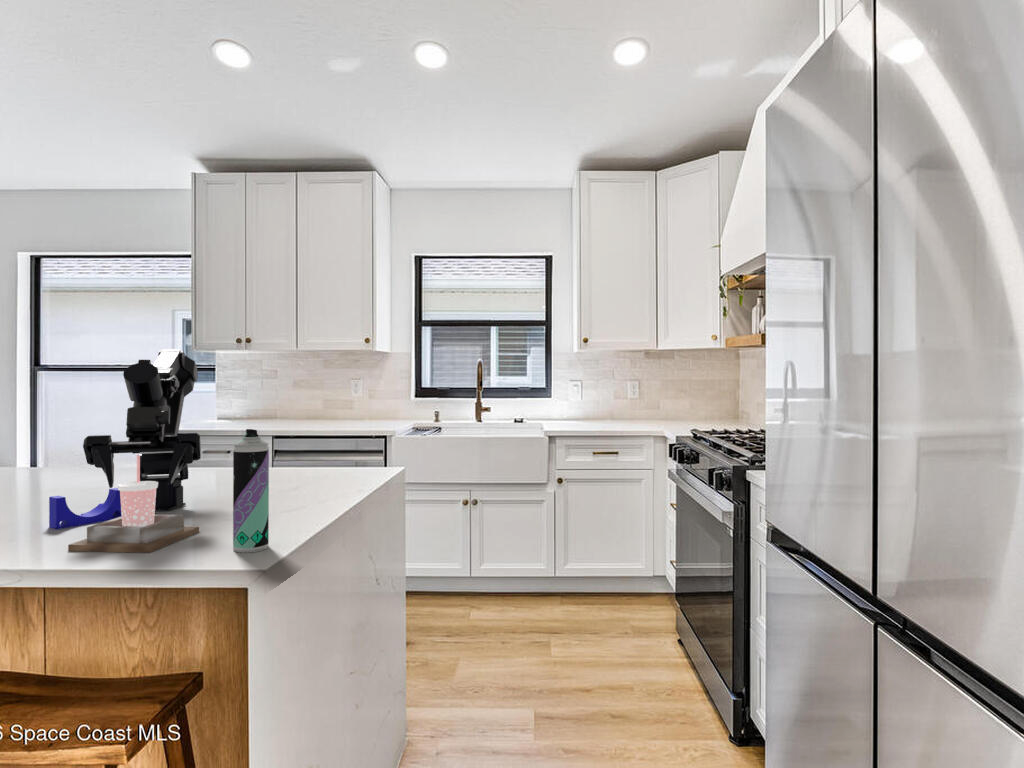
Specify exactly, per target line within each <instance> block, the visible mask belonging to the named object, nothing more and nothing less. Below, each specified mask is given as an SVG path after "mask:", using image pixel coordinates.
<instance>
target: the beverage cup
mask: <svg viewBox="0 0 1024 768" xmlns="http://www.w3.org/2000/svg"><path fill="white" fill-rule="evenodd" d="M157 487H158V482H156V481H140V454H137V455H136V481H127V482H124V483H123V482H122V483H118V484H117V488H118V490H119V491H120V500H121V514H122V526H138V527H145V526H148V525H150V524H153V523H154V516H155V513H156V512H155V511H156V510H155V501H156V488H157Z"/></svg>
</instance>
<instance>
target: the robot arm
mask: <svg viewBox="0 0 1024 768" xmlns="http://www.w3.org/2000/svg"><path fill="white" fill-rule="evenodd" d="M151 361H152V360H151V359H138V363H137V362H136V363H134V364H131V365H129V366H128V367H127V368H126V369H124V370H123V378H124V383H125V387H126V390H127V393H128V399H130V401H131V402H133V406H131V407H128V408H127V411H126V424H125V425H126V431H125V436H126V439H127V438H128V441H127V440H126V441H121V440H120V441H113V440H112V435H111V434H102V435H101V434H99V435H98V434H95V435H87V436H86V437H85V438H84V439H83V444H82V448H83V452H84V455H85V460H86V463H87V465H90V466H94V467H95V468H97V469H99V468H100V469H102V471H103V473H104V475H105V477H106V480H107V484H108V487H109V489H113V487H114V481H115V478H114V477H115V464H114V456H115V455H114V454H130V453H131V454H133V455H134V454H139V455H140V481H156V482H158V487H157V488H156V501H155V511H161V512H162V511H166V512H167V511H172V510H175V509H178V508H182V507H184V506H186V502H184V485H182V481H185V480H188V479H189V467H188V466H189V464H193V463H194V462H195V461H199V460H201V459H202V444H201V435H200V434H199V432H179V431H180V430H179V429H180V425H181V418H182V413H183V408H184V407H183V406H184V401H185V398H186V397H187V396H188V395H189V394H190V393H191V392H193V391H194V386H195V383H197V382H198V377H199V376H198V375H199V373H198V368H197V367H198V366H197V364H196V360H193V359H192V358H190V357H189V356H187V355H186V354H185V351H184V350H181V349H162V350H159V351H158V355H157V358H156V359H155V361H154V362H153V363H152V362H151Z"/></svg>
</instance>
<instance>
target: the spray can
mask: <svg viewBox="0 0 1024 768" xmlns="http://www.w3.org/2000/svg"><path fill="white" fill-rule="evenodd" d="M243 435H244V436H242V438H241V439H240V440H239V441H237V442H236V443H234V444H233V445H234V446H233V447H234V448H233V452H232V455H233V457H232V459H233V463H232V464H233V465H232V466H233V467H232V468H233V469H232V471H233V473H232V474H233V478H232V479H233V480H232V482H233V486H232V487H233V488H232V489H233V490H232V492H233V495H232V496H233V497H232V498H233V499H232V504H233V505H232V507H233V511H232V516H233V518H232V525H233V526H232V528H233V529H232V541H233V542H232V550H233V551H234V552H235V553H240V552H241V553H242V554H243V553H244V554H245V553H255V552H261V551H264V550H267V549H268V548H269V541H270V540H269V539H270V538H269V537H270V536H269V535H270V534H269V530H270V529H269V528H270V527H269V524H270V523H269V517H270V516H269V507H270V506H269V502H270V501H269V499H270V498H269V497H270V495H269V492H270V490H269V489H270V487H269V486H270V485H269V482H270V479H269V477H270V476H269V475H270V474H269V470H270V469H269V467H270V465H269V464H270V463H269V460H270V459H269V458H270V450H269V449H270V447H269V446H268V445H269V442H266V441H265V440H264V439H262V438H261V436H260V435H259V434H258V430H257V429H252V428H246V429H245V434H243Z"/></svg>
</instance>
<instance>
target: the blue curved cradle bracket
mask: <svg viewBox="0 0 1024 768" xmlns="http://www.w3.org/2000/svg"><path fill="white" fill-rule="evenodd" d="M48 503H49V504H48V507H49V509H48V513H49V514H48V524H49V526H48V527H49V528H50V529H53V530H61V529H66V528H72V527H79V526H84V525H90V524H98V523H102V522H105V521H109V520H112V519H115V518H118V517H122V514H121V500H120V491H119V490H118V487H115V488H113V487H112V488H109V489H108V495H107V497H106V499H105V500H104V502H103V503H98V505H97V506H95V507H94V508H93V509H91V510H89V511H86V512H84V513H80V514H76V513H74V512H73V511H72V510H71V509H70V508H69V506H68V504H67V500H66V497H65V496H62V495H61V496H60V495H54V496H49V500H48Z"/></svg>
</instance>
